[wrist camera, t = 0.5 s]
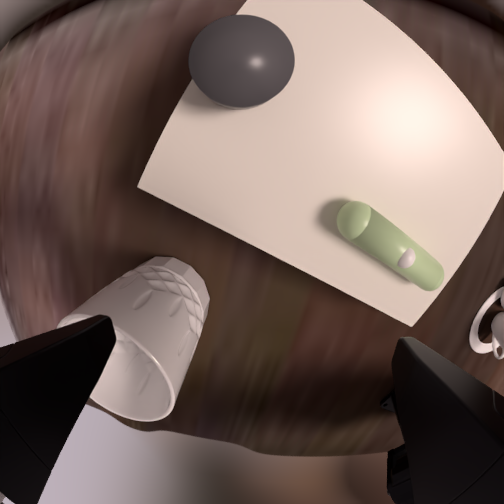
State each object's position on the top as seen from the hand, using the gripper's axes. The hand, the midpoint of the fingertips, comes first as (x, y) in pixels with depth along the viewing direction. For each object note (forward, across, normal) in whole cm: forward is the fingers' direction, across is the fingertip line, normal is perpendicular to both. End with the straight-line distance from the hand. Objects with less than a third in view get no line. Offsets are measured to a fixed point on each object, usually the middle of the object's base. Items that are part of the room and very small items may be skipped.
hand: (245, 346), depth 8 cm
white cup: (+13, +8, +5) cm, 16 cm away
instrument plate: (+8, -5, -5) cm, 11 cm away
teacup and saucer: (+14, -26, +7) cm, 30 cm away
